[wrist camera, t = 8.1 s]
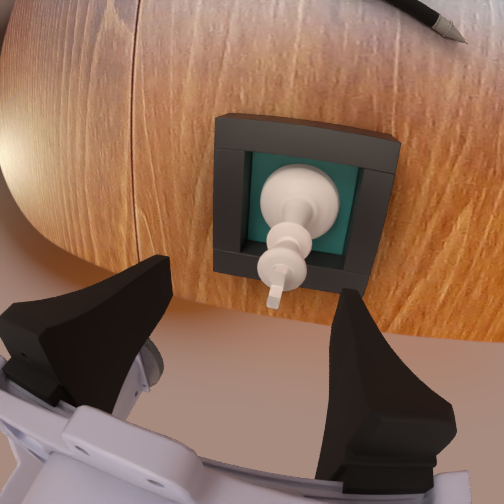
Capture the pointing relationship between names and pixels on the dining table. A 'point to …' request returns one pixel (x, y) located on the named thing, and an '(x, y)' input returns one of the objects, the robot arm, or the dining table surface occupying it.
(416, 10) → the pen
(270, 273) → the chess piece
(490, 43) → the dining table surface
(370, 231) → the tray
